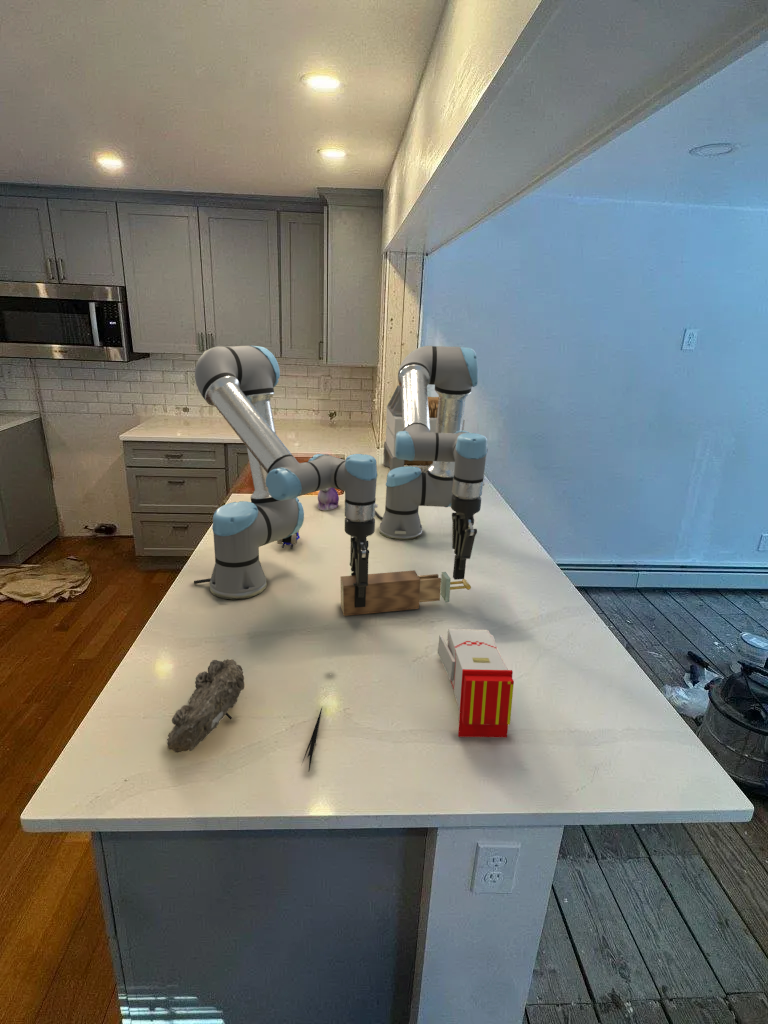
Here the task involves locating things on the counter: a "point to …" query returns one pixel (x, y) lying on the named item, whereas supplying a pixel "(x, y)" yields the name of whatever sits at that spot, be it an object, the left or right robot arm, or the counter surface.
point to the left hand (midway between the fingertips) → (357, 600)
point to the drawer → (438, 587)
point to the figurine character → (289, 540)
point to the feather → (313, 740)
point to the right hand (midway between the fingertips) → (458, 578)
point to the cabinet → (382, 593)
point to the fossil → (206, 705)
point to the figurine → (328, 499)
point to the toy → (478, 682)
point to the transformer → (396, 425)
